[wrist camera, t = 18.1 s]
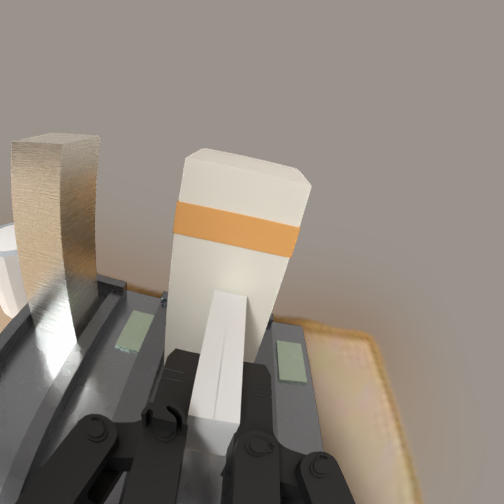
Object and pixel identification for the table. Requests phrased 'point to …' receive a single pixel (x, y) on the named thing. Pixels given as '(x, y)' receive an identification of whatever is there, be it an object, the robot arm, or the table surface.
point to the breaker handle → (231, 242)
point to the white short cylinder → (10, 273)
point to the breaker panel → (102, 333)
